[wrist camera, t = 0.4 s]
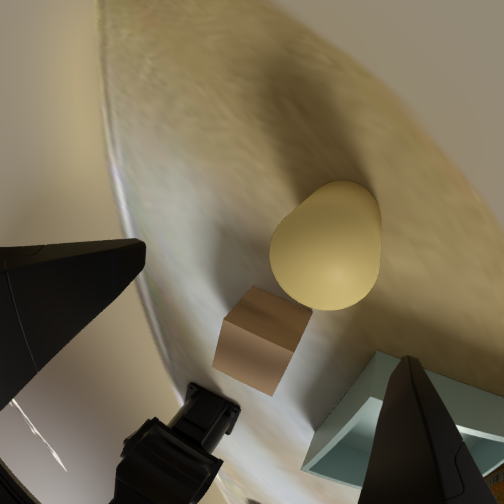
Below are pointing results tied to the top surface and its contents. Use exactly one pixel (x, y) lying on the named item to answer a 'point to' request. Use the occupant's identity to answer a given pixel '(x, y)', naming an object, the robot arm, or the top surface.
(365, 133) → the top surface
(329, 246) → the yellow teardrop shape
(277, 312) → the walnut cube
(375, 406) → the tote
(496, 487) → the condiment
